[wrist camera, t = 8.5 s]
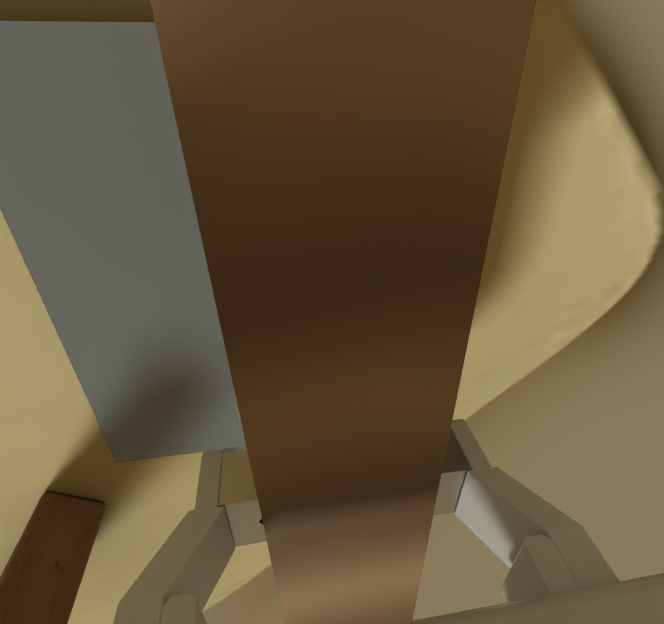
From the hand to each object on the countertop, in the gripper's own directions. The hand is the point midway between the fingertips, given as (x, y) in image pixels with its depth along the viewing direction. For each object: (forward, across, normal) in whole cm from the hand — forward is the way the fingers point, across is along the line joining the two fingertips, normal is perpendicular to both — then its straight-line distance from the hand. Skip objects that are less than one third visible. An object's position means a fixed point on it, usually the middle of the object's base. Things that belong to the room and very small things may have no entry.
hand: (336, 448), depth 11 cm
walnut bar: (+2, 0, 0) cm, 2 cm away
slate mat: (+10, +4, 0) cm, 10 cm away
